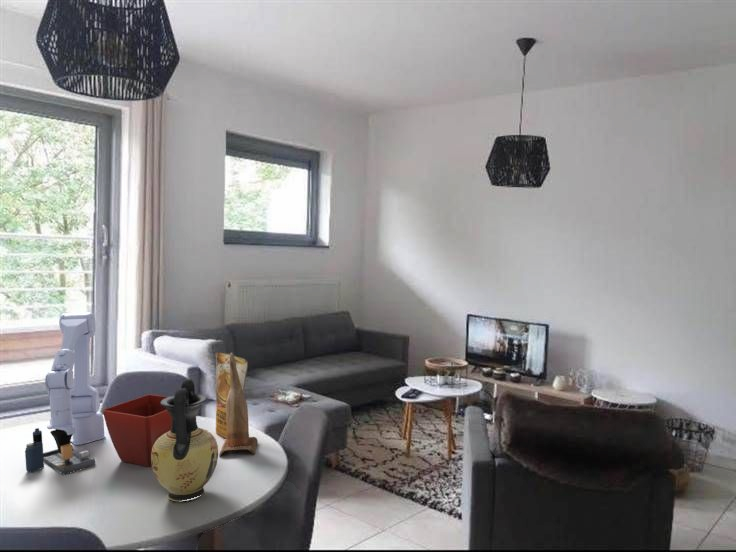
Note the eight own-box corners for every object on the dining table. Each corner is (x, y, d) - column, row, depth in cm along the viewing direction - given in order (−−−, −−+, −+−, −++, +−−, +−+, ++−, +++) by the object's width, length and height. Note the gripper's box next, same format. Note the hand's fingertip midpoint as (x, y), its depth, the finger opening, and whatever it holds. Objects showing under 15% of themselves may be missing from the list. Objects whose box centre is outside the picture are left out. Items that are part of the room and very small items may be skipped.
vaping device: (46, 466, 172) (43, 427, 171) (30, 473, 167) (28, 433, 166) (39, 465, 173) (37, 427, 172) (24, 472, 168) (21, 432, 167)
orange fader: (70, 459, 174) (69, 443, 174) (72, 460, 173) (71, 444, 173) (61, 461, 172) (60, 445, 172) (63, 463, 171) (62, 447, 171)
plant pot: (196, 450, 182) (193, 399, 181) (150, 473, 165) (147, 417, 164) (151, 442, 190) (149, 393, 189) (104, 464, 173) (100, 410, 172)
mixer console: (72, 451, 184) (71, 439, 184) (95, 465, 172) (94, 452, 172) (41, 459, 178) (40, 447, 177) (63, 474, 166) (63, 461, 165)
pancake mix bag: (226, 426, 205) (223, 350, 203) (252, 439, 191) (249, 357, 189) (209, 430, 201) (205, 353, 199) (234, 444, 186) (231, 361, 185)
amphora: (220, 504, 144) (216, 389, 142) (150, 515, 140) (144, 395, 138) (218, 477, 161) (214, 373, 159) (155, 485, 157) (150, 379, 154)
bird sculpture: (257, 443, 188) (253, 347, 187) (255, 455, 177) (251, 353, 176) (223, 446, 187) (218, 350, 186) (219, 458, 175) (214, 356, 174)
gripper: (38, 408, 175) (41, 450, 176) (55, 417, 165) (58, 462, 166) (62, 402, 180) (65, 444, 181) (81, 411, 171) (83, 455, 171)
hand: (63, 452), depth 174 cm, fingers closed
